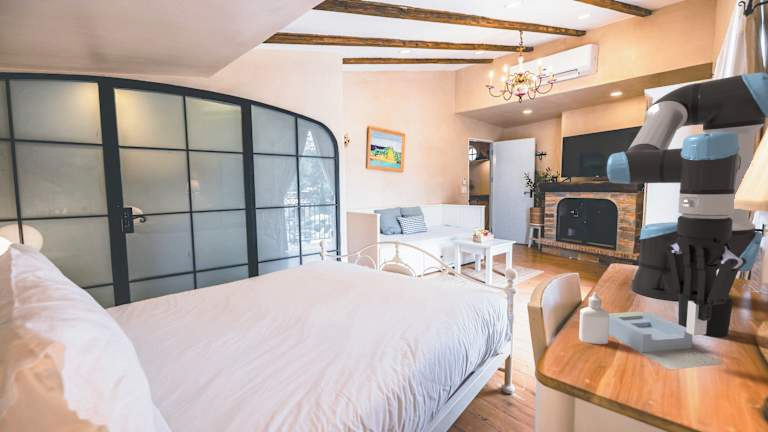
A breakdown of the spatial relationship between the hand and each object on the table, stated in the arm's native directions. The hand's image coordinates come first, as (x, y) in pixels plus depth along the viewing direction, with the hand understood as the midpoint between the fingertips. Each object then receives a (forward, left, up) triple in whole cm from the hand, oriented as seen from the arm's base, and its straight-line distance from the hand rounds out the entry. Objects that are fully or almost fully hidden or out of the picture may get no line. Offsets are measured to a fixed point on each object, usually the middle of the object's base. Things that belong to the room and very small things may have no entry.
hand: (695, 333), depth 65 cm
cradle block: (+1, -10, -6) cm, 12 cm away
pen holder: (-17, -13, -7) cm, 23 cm away
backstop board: (+1, -9, -7) cm, 11 cm away
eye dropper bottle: (+13, -12, -7) cm, 19 cm away
